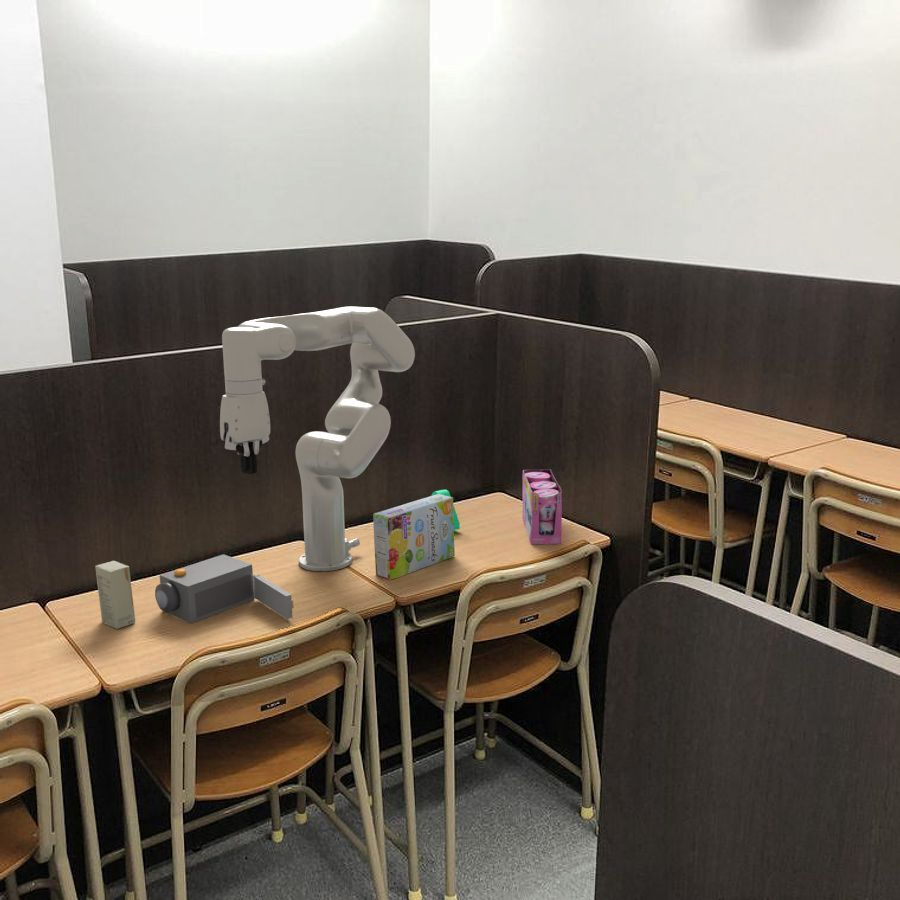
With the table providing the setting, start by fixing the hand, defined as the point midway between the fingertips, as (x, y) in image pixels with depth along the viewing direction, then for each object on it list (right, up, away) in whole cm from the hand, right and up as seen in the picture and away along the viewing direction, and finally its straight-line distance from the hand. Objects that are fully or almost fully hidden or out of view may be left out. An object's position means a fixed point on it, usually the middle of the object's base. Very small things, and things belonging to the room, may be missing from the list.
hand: (249, 472), depth 200 cm
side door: (+6, -28, -4) cm, 29 cm away
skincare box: (-25, -30, -8) cm, 40 cm away
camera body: (-9, -28, -1) cm, 30 cm away
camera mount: (+39, -16, +48) cm, 63 cm away
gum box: (+66, -16, +46) cm, 82 cm away
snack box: (+35, -23, +21) cm, 47 cm away
